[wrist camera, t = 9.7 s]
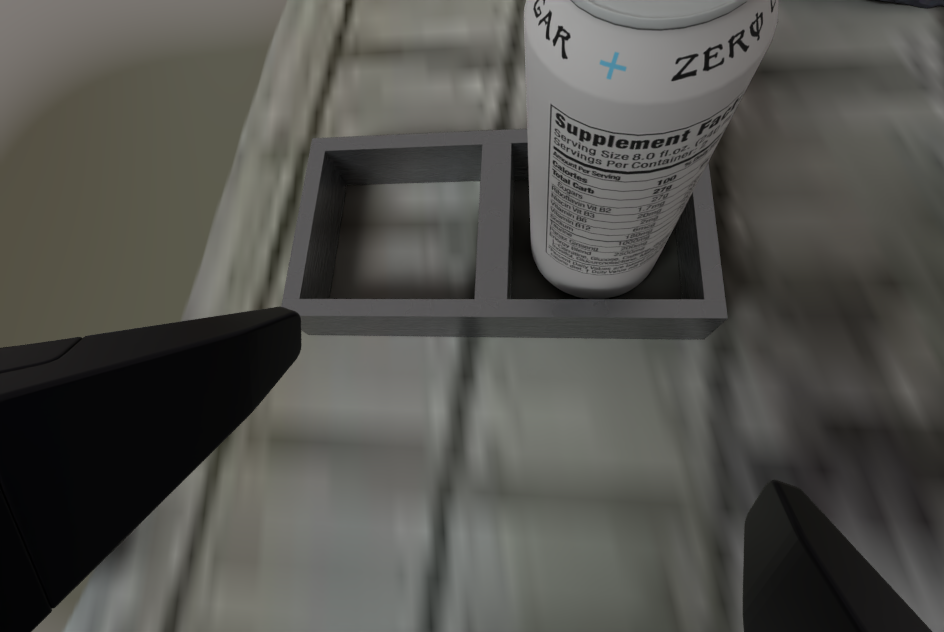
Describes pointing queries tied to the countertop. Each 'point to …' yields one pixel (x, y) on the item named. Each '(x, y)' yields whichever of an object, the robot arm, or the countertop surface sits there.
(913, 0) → the dark slate chunk
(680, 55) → the energy drink can
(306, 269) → the divided frame
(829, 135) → the countertop surface
